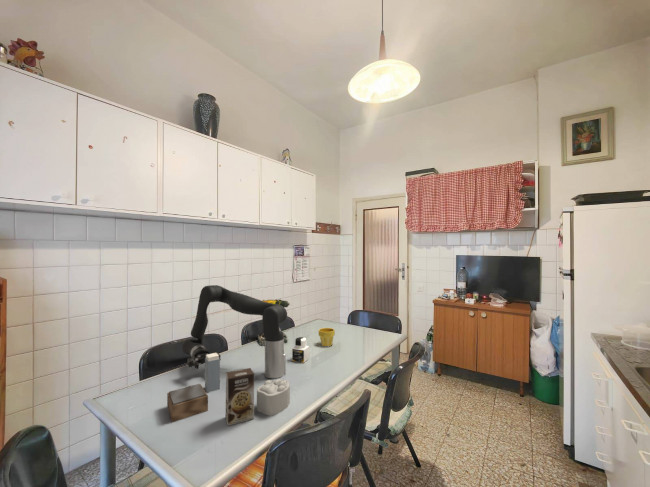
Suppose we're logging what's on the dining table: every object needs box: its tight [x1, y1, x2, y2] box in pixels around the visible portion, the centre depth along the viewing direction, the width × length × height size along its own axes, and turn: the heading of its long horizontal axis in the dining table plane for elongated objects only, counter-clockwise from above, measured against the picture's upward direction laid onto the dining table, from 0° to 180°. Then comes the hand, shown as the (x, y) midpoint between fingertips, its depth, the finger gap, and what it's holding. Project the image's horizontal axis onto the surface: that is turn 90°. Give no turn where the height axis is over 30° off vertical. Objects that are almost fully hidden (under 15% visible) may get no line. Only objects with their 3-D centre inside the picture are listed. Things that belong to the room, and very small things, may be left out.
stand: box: [166, 383, 209, 423], centre depth 107 cm, size 12×12×6 cm
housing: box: [204, 352, 221, 393], centre depth 123 cm, size 5×5×14 cm
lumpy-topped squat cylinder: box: [256, 378, 291, 417], centre depth 109 cm, size 10×13×9 cm
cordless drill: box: [257, 299, 291, 347], centre depth 189 cm, size 18×19×28 cm
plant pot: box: [318, 327, 336, 347], centre depth 179 cm, size 10×10×10 cm
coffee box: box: [225, 367, 255, 426], centre depth 101 cm, size 9×6×16 cm
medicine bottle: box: [291, 336, 310, 364], centre depth 155 cm, size 7×7×12 cm
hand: (207, 364), depth 130 cm, fingers open, 8 cm apart
